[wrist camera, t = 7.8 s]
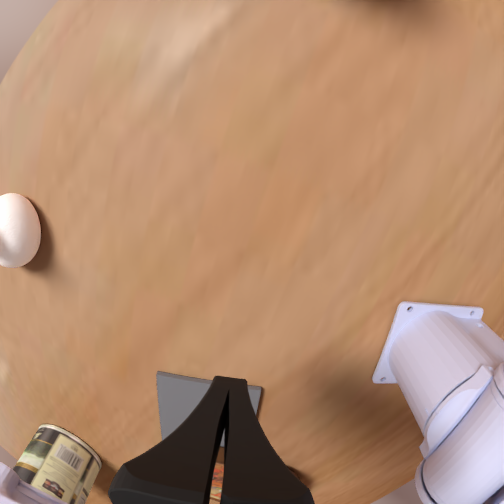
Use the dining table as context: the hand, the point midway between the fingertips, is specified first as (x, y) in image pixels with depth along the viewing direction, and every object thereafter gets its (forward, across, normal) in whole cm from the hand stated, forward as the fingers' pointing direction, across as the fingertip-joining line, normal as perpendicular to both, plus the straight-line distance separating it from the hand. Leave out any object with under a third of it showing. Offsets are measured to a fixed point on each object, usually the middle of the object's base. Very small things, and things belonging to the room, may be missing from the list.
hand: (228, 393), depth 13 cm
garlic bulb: (+11, +20, -3) cm, 23 cm away
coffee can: (+11, +21, +28) cm, 37 cm away
